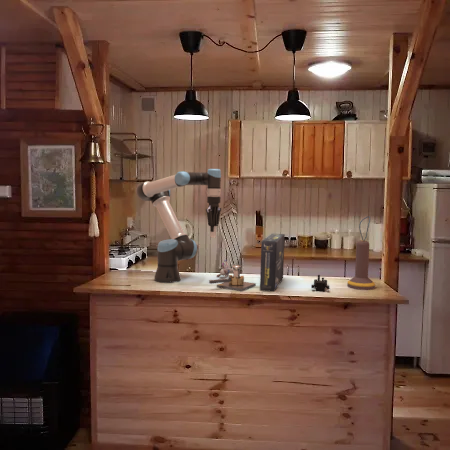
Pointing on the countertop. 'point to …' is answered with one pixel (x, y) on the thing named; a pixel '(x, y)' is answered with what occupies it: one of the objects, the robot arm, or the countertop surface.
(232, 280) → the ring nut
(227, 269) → the figurine
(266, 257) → the box
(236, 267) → the brass fixture on plate
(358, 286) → the flashlight
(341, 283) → the countertop surface
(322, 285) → the toy
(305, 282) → the countertop surface
